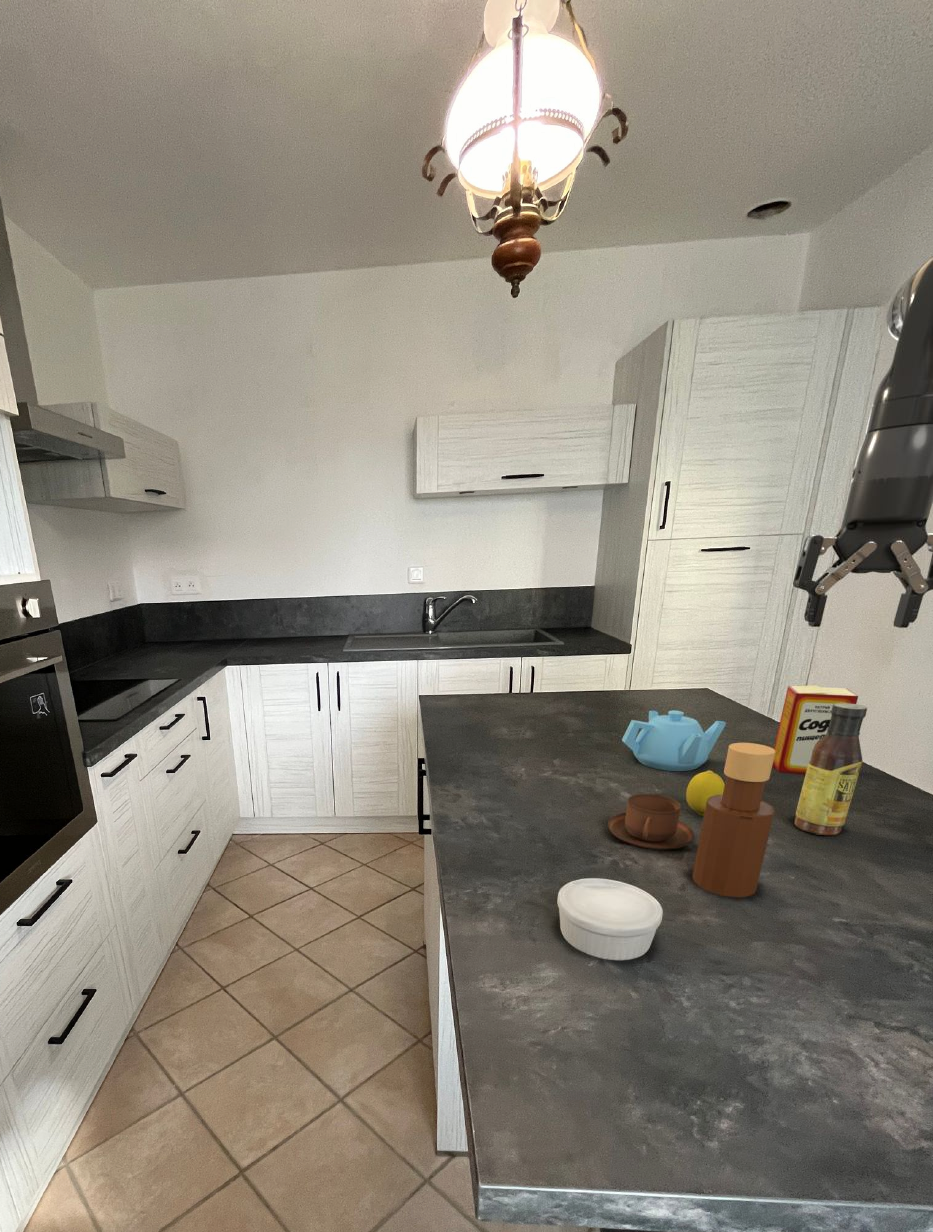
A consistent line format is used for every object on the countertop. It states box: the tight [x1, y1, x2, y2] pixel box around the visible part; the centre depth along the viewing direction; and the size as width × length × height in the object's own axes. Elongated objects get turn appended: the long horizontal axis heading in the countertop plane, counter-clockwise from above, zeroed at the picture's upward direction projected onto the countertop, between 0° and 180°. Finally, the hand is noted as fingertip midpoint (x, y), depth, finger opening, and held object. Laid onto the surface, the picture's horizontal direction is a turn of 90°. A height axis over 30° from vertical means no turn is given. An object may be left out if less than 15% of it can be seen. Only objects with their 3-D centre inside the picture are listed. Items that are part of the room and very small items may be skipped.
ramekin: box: [556, 877, 664, 961], centre depth 71 cm, size 11×11×5 cm
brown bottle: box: [692, 775, 776, 898], centre depth 79 cm, size 7×7×16 cm
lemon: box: [685, 770, 725, 817], centre depth 102 cm, size 6×6×8 cm
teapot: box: [621, 710, 727, 772], centre depth 127 cm, size 15×15×11 cm
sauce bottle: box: [794, 703, 868, 836], centre depth 94 cm, size 6×6×20 cm
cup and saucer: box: [607, 793, 695, 851], centre depth 95 cm, size 12×12×6 cm
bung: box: [723, 742, 775, 782], centre depth 76 cm, size 5×5×6 cm
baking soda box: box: [772, 685, 859, 775], centre depth 120 cm, size 10×6×16 cm
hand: (856, 626), depth 74 cm, fingers open, 8 cm apart
